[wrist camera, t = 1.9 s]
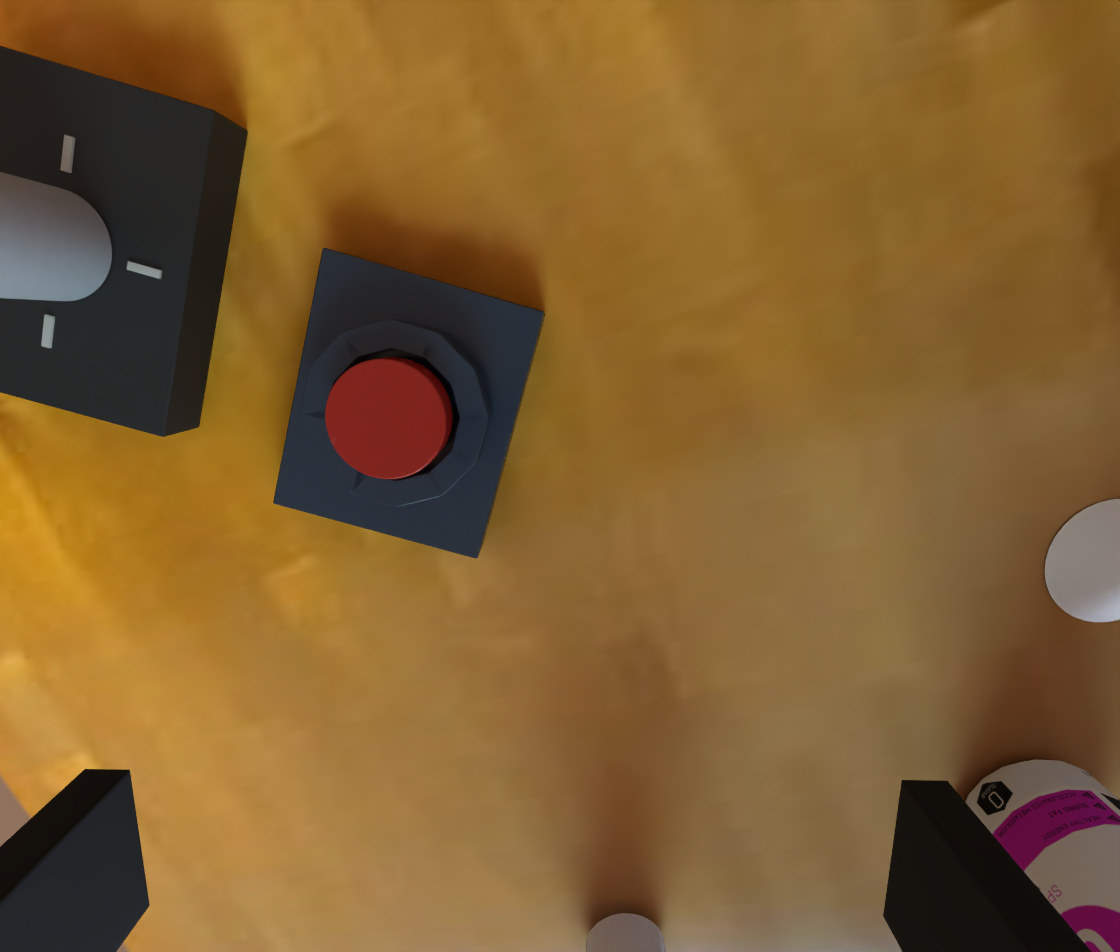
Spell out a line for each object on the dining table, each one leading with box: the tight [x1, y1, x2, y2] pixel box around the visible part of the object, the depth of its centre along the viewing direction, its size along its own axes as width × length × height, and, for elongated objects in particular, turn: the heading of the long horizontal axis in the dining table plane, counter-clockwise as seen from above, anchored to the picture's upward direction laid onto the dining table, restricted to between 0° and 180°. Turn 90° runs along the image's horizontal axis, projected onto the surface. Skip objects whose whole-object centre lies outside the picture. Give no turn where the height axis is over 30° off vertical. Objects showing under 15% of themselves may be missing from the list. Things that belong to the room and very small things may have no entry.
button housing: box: [273, 248, 545, 558], centre depth 31 cm, size 12×10×4 cm
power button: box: [325, 357, 453, 479], centre depth 28 cm, size 5×5×2 cm
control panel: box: [0, 46, 248, 437], centre depth 30 cm, size 14×11×3 cm
